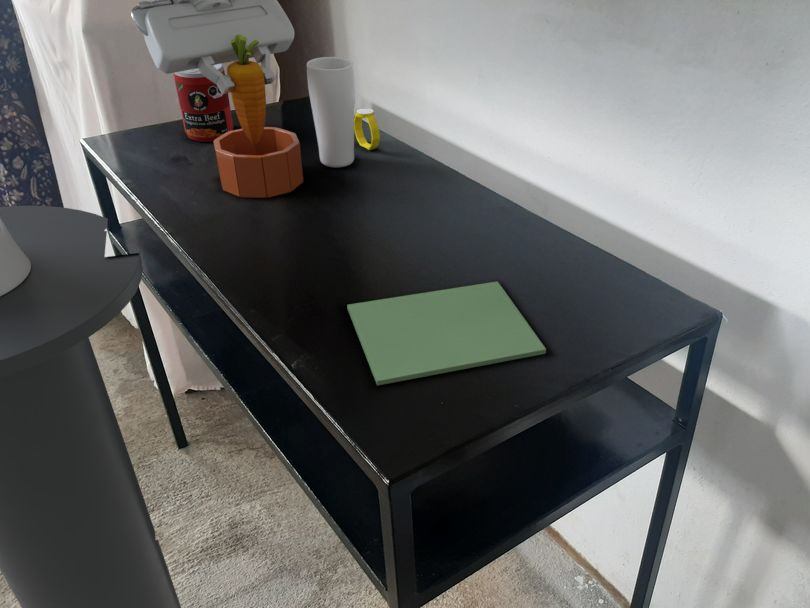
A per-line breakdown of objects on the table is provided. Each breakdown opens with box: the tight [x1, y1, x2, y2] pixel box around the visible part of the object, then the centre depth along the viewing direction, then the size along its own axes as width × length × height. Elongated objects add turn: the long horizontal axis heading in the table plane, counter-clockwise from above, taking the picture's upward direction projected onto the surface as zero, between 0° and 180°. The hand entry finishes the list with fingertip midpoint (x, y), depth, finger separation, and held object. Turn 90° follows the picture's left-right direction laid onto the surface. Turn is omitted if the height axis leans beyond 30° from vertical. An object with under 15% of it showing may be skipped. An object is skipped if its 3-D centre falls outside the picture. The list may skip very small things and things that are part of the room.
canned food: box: [172, 63, 234, 143], centre depth 118 cm, size 8×8×11 cm
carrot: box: [226, 34, 267, 145], centre depth 99 cm, size 5×5×15 cm
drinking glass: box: [306, 56, 356, 169], centre depth 109 cm, size 7×7×15 cm
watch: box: [354, 108, 381, 151], centre depth 117 cm, size 6×3×6 cm, turn 37°
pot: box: [213, 126, 304, 199], centre depth 106 cm, size 12×12×6 cm
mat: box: [346, 281, 547, 386], centre depth 78 cm, size 18×14×1 cm
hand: (249, 86), depth 99 cm, fingers closed on carrot, 5 cm apart
